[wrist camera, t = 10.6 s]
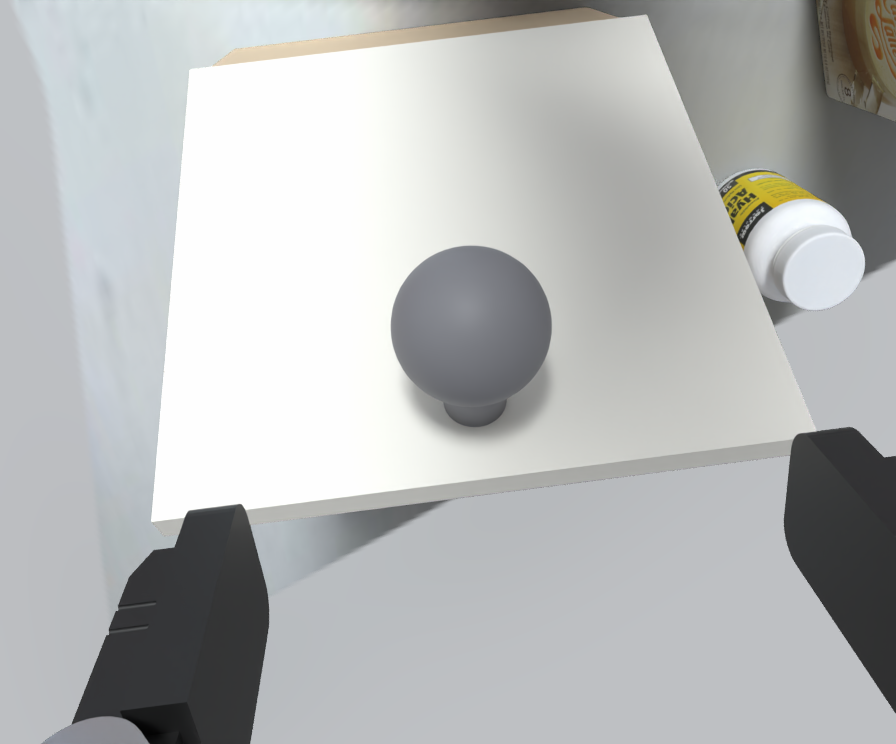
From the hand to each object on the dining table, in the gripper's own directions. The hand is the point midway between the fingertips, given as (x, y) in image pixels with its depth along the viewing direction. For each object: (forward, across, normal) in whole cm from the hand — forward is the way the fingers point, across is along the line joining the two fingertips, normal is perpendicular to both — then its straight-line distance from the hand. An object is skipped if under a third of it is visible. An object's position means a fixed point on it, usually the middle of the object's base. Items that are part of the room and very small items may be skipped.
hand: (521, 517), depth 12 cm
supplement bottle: (+36, -18, +8) cm, 41 cm away
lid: (+17, 0, +1) cm, 18 cm away
